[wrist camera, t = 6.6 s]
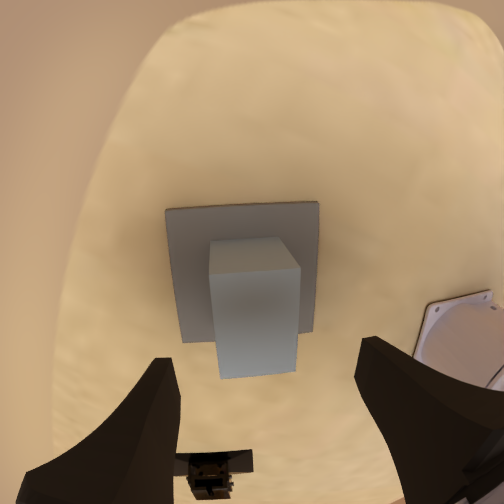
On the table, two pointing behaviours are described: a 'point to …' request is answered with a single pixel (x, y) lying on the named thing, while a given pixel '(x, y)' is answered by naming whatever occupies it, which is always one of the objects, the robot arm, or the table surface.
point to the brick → (254, 306)
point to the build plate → (212, 471)
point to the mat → (236, 227)
